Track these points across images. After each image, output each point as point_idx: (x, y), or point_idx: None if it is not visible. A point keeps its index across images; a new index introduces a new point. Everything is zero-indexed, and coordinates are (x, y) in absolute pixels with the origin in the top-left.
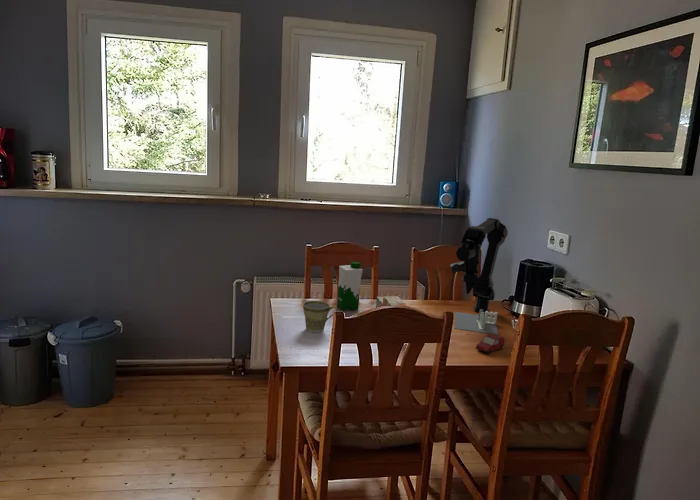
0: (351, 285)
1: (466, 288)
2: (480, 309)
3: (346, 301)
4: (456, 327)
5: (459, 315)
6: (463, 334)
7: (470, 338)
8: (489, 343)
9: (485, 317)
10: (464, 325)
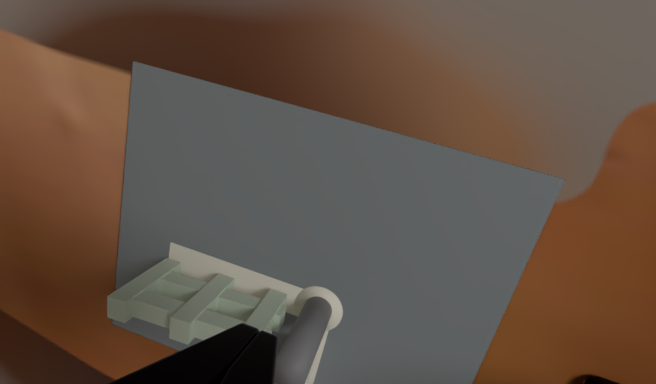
0: None
1: (134, 375)
2: (298, 368)
3: None
4: (151, 76)
5: (450, 191)
6: (52, 96)
7: (5, 124)
8: None
9: (121, 321)
10: (208, 156)
